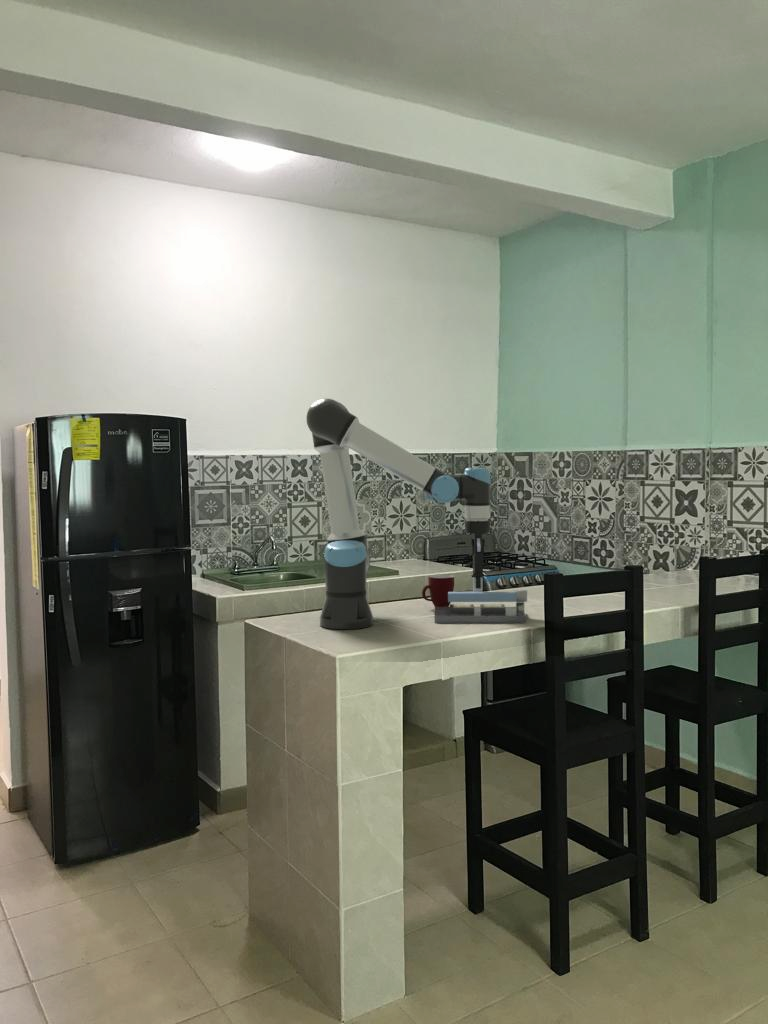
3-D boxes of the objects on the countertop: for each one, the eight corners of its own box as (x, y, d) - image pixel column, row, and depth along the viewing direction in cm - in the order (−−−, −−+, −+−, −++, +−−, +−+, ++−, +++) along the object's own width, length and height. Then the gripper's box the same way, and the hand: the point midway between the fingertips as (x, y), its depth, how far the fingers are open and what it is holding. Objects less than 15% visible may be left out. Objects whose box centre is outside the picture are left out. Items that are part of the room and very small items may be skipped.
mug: (430, 611, 257) (430, 579, 257) (417, 608, 264) (416, 576, 264) (459, 608, 262) (459, 576, 262) (445, 604, 269) (445, 573, 269)
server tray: (434, 622, 240) (434, 607, 240) (434, 613, 255) (434, 598, 255) (527, 622, 238) (527, 607, 238) (521, 613, 253) (521, 598, 253)
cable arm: (526, 599, 247) (526, 589, 247) (527, 602, 243) (527, 591, 243) (448, 599, 249) (448, 589, 249) (448, 602, 245) (448, 592, 245)
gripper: (491, 521, 242) (492, 602, 244) (488, 518, 255) (489, 595, 257) (465, 521, 243) (466, 602, 244) (464, 518, 256) (464, 595, 257)
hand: (477, 598), depth 250 cm, fingers closed
